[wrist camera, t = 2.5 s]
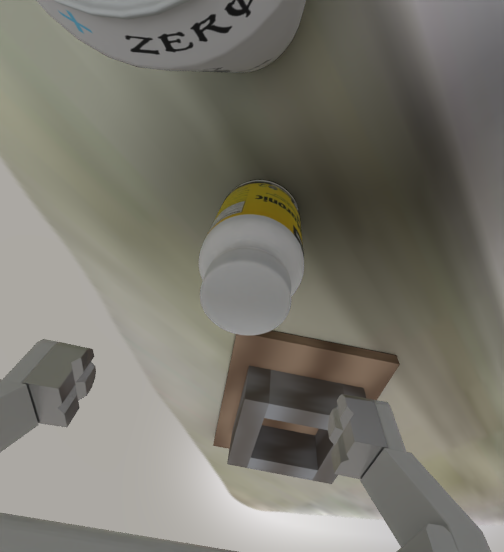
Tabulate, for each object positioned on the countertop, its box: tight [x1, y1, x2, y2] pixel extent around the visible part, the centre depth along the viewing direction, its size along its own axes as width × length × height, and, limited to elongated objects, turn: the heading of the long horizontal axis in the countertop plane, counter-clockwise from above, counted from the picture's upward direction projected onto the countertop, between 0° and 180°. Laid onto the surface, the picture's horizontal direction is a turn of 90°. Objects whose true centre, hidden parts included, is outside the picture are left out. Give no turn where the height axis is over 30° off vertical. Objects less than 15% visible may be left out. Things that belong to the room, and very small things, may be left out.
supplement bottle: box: [199, 180, 304, 335], centre depth 18 cm, size 5×5×10 cm
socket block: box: [213, 331, 400, 484], centre depth 30 cm, size 14×18×4 cm
